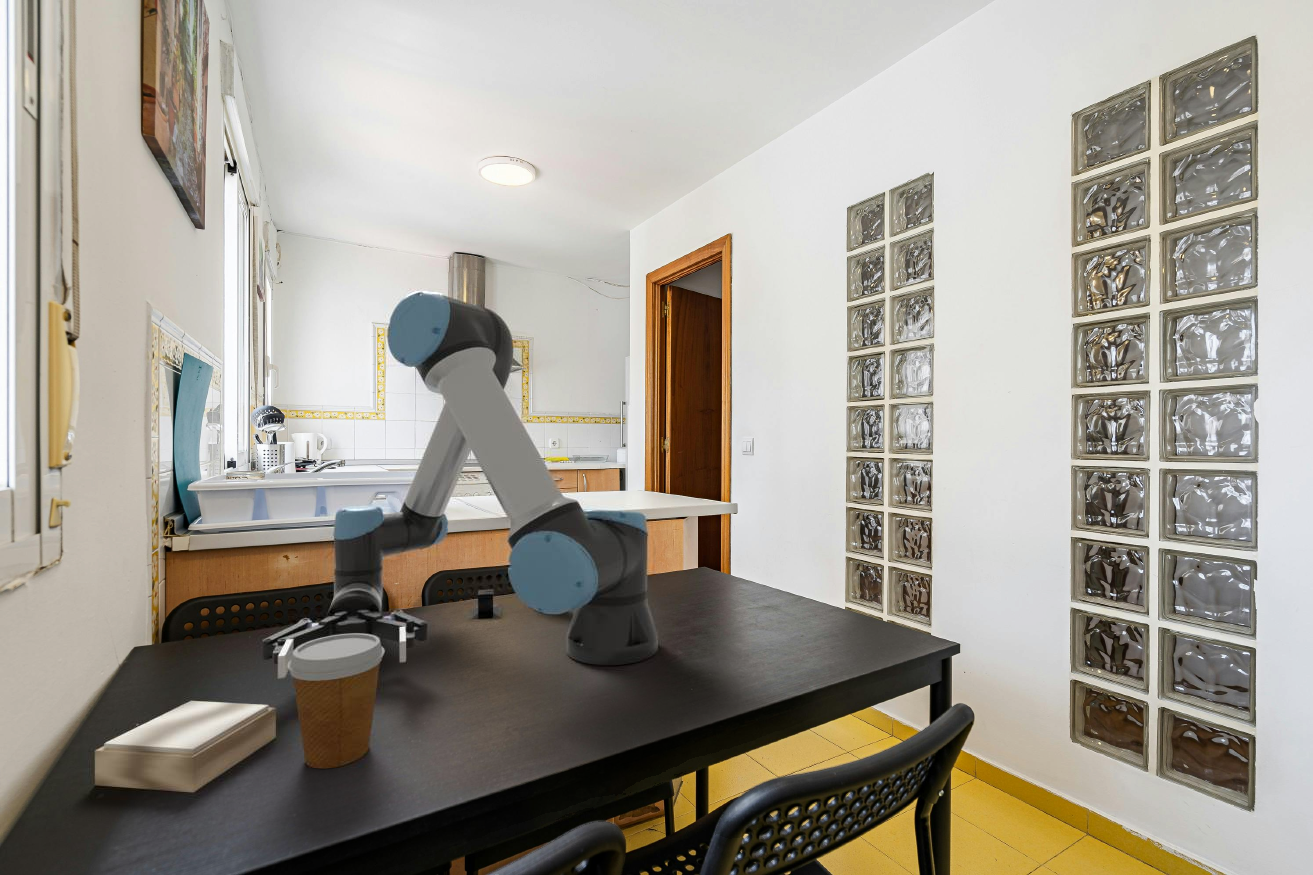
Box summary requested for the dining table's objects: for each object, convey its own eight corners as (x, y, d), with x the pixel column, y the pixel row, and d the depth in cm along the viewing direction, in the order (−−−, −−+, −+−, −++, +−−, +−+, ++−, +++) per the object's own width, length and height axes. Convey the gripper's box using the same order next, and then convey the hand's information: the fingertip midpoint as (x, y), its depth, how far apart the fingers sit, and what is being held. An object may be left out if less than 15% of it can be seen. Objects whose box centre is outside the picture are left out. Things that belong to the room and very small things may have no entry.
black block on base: (504, 622, 117) (504, 598, 117) (464, 625, 115) (464, 601, 115) (503, 604, 129) (503, 583, 129) (467, 607, 127) (467, 585, 127)
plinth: (275, 737, 71) (275, 703, 71) (193, 792, 60) (193, 751, 60) (190, 732, 72) (190, 698, 72) (95, 784, 61) (94, 745, 61)
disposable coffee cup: (313, 734, 72) (313, 633, 72) (396, 731, 72) (396, 630, 72) (268, 779, 62) (268, 662, 62) (365, 775, 63) (365, 660, 63)
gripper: (438, 627, 101) (448, 673, 81) (262, 647, 91) (225, 705, 71) (438, 582, 101) (448, 617, 81) (262, 597, 91) (225, 642, 71)
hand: (344, 659), depth 76 cm, fingers open, 13 cm apart
